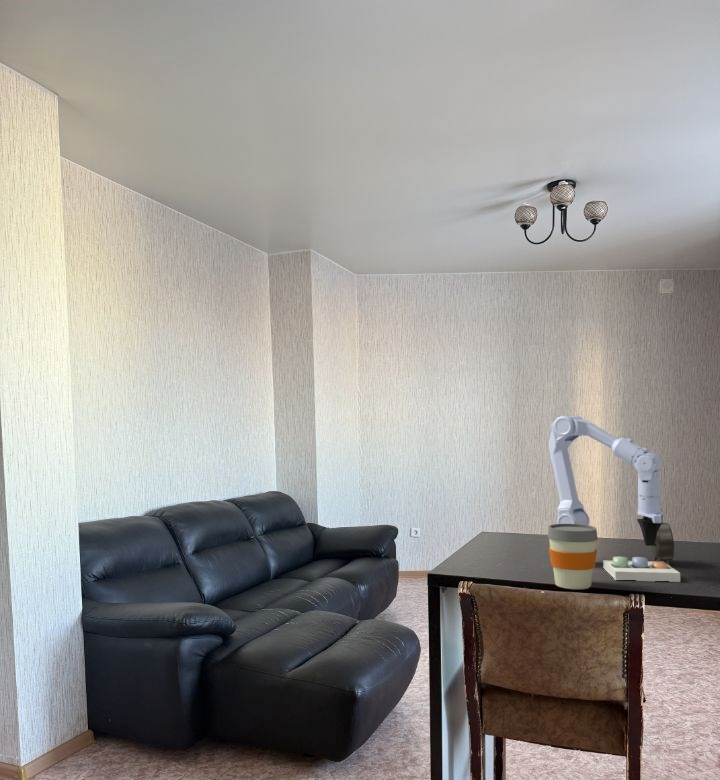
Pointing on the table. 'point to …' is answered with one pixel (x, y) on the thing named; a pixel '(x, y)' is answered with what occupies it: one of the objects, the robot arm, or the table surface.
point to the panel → (641, 572)
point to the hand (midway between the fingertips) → (649, 545)
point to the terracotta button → (659, 565)
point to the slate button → (639, 562)
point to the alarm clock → (664, 543)
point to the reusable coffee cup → (572, 554)
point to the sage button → (620, 562)
